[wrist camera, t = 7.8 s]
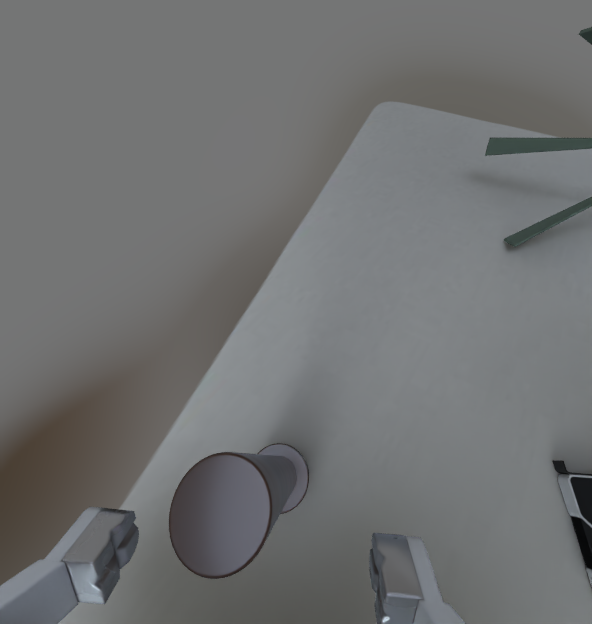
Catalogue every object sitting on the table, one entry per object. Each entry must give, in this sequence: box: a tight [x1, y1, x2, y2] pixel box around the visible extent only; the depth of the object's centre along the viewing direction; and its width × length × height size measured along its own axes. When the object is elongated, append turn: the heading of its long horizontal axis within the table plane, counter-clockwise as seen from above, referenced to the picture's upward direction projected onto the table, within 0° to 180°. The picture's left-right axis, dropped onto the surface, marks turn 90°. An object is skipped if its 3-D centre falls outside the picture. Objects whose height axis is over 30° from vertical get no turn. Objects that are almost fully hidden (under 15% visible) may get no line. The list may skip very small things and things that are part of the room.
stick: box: [169, 443, 309, 579], centre depth 12 cm, size 4×4×14 cm
